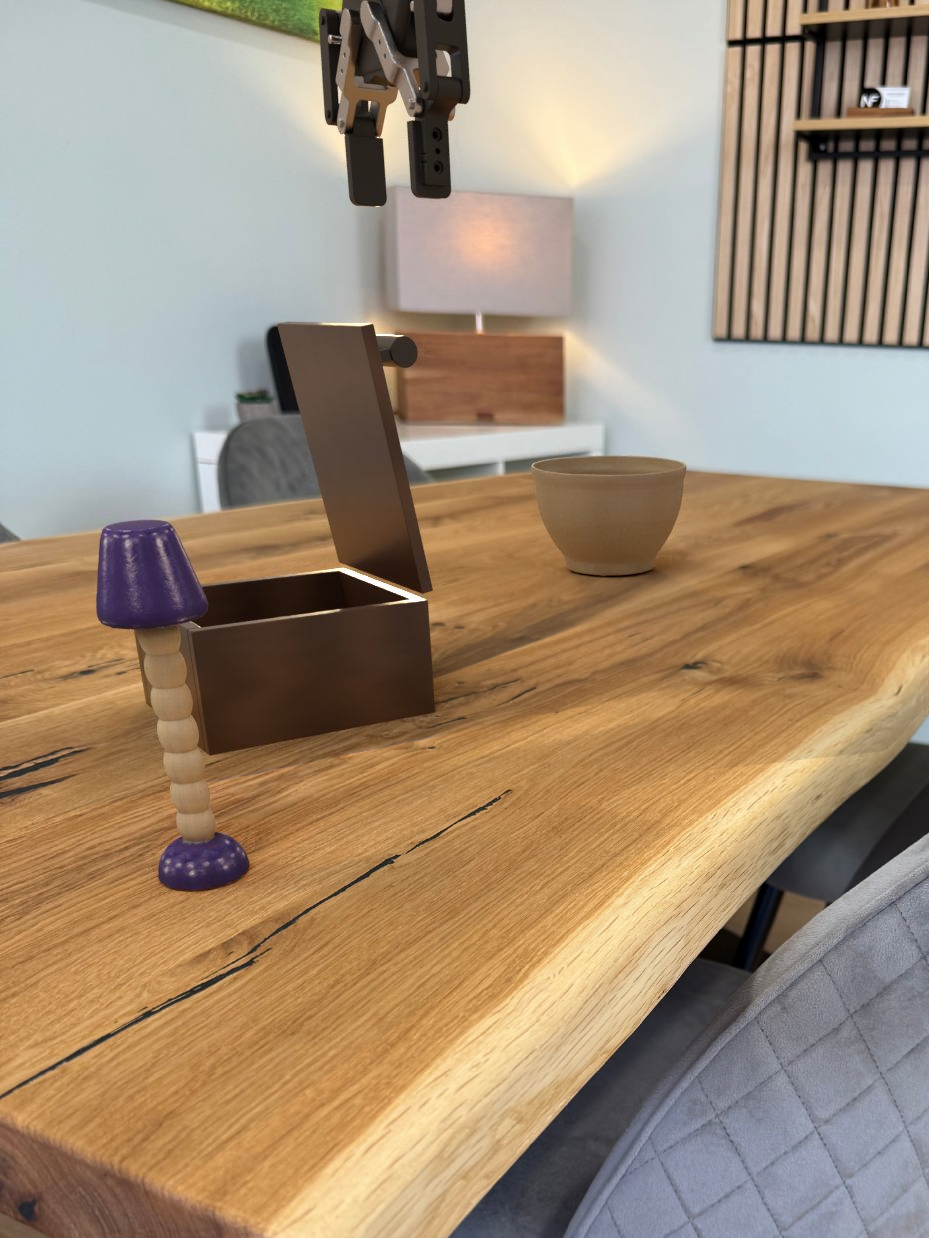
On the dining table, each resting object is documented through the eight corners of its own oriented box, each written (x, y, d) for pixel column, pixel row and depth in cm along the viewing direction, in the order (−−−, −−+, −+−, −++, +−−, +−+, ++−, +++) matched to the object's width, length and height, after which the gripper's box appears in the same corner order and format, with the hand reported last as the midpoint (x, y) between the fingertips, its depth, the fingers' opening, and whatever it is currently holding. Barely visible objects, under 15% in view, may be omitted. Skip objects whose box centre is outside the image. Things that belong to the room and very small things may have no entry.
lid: (360, 326, 67) (439, 310, 69) (276, 323, 76) (348, 309, 78) (422, 594, 74) (491, 571, 77) (338, 562, 84) (402, 543, 86)
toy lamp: (192, 903, 56) (132, 535, 49) (123, 881, 58) (56, 526, 51) (268, 865, 60) (222, 520, 53) (201, 846, 62) (149, 512, 55)
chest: (213, 780, 71) (191, 632, 67) (149, 726, 80) (127, 592, 76) (437, 735, 78) (428, 599, 75) (355, 690, 88) (344, 567, 84)
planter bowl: (519, 559, 135) (515, 457, 130) (656, 552, 139) (657, 453, 135) (555, 588, 121) (552, 475, 116) (705, 579, 125) (708, 470, 121)
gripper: (262, -118, 68) (293, 206, 75) (368, -194, 58) (392, 190, 65) (385, -93, 72) (404, 212, 79) (504, -160, 62) (514, 199, 69)
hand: (398, 202), depth 72 cm, fingers open, 8 cm apart
